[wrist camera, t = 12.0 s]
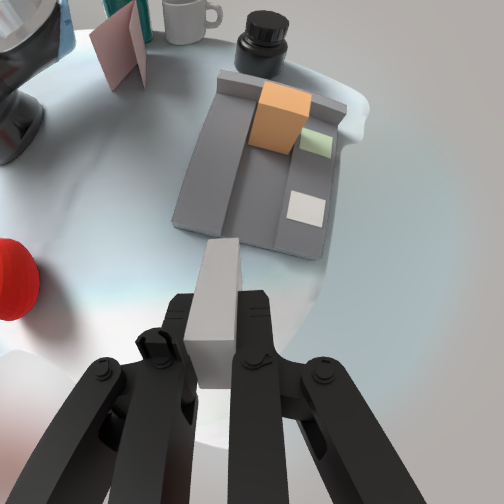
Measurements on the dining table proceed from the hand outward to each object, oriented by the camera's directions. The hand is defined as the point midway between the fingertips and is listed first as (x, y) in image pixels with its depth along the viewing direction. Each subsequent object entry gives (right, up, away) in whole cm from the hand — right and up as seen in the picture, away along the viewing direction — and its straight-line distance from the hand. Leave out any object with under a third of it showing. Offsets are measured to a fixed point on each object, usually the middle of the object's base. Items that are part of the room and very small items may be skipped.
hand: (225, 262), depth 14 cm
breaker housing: (+3, +13, +25) cm, 29 cm away
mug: (-11, +46, +29) cm, 55 cm away
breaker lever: (+4, +17, +24) cm, 30 cm away
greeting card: (-19, +34, +26) cm, 47 cm away
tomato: (-34, -4, +18) cm, 39 cm away
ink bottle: (+2, +36, +29) cm, 46 cm away
